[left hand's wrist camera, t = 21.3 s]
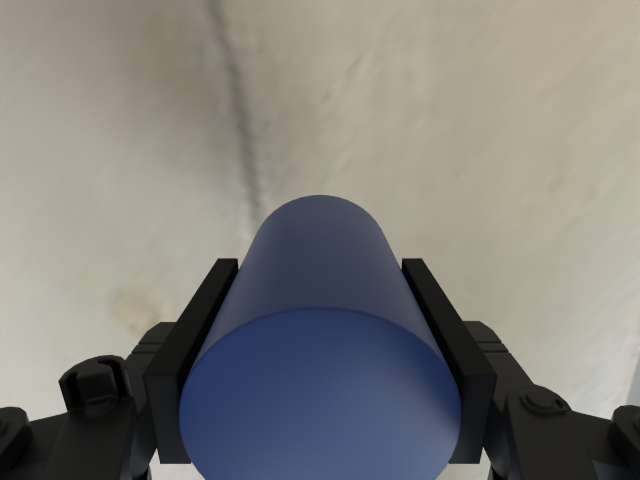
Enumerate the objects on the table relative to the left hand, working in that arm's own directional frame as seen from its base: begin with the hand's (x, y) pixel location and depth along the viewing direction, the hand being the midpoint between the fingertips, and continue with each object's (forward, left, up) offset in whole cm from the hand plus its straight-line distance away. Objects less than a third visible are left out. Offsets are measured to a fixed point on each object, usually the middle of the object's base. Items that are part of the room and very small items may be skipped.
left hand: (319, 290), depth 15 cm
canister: (0, 0, -3) cm, 3 cm away
